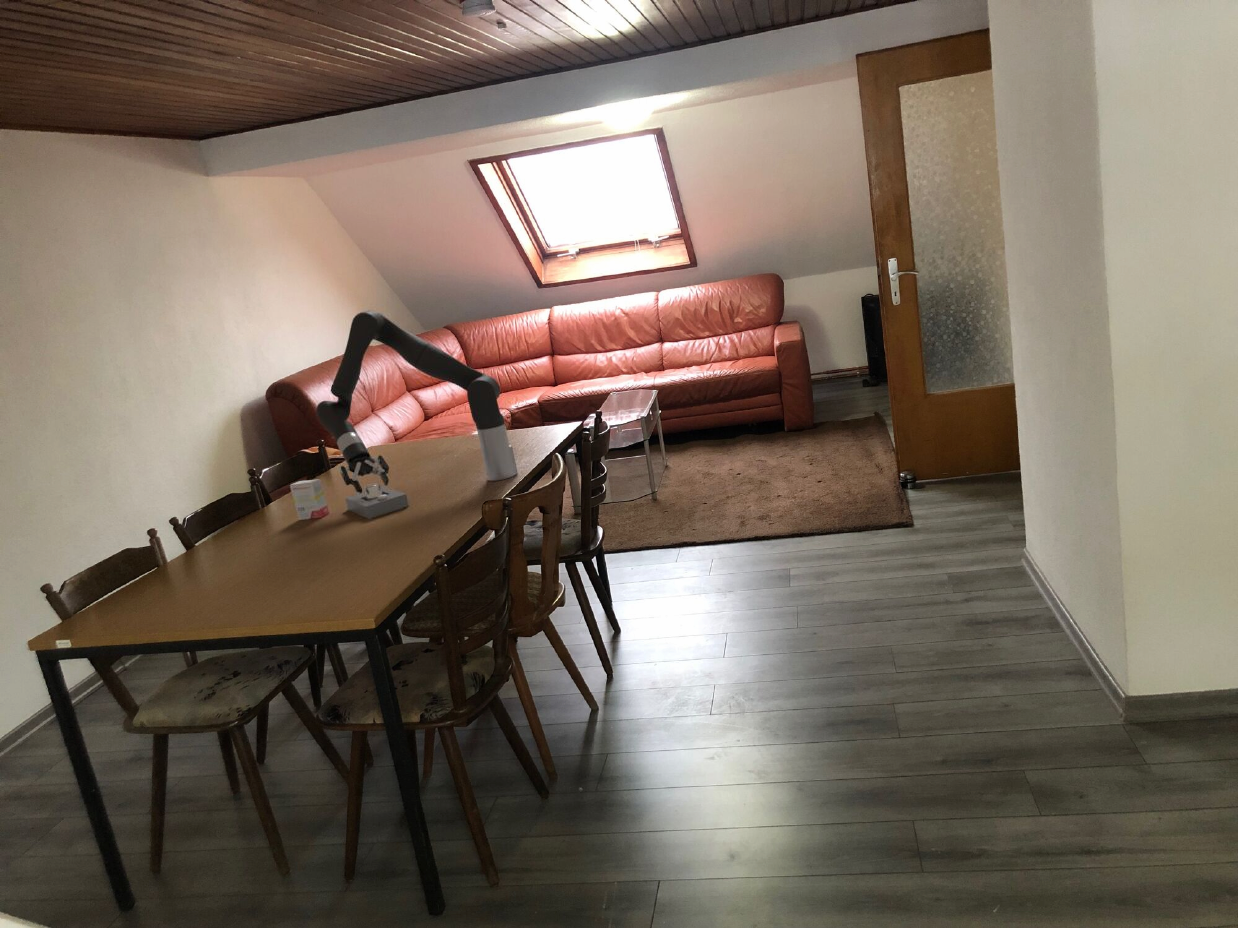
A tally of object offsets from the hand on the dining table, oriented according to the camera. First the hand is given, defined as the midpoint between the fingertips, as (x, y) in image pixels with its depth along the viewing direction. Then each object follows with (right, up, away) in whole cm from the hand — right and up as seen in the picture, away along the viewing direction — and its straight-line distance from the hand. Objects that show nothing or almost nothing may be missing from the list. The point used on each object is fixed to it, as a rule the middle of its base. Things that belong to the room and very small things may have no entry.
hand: (374, 487), depth 298 cm
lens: (0, -6, +3) cm, 7 cm away
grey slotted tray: (+1, -6, +3) cm, 7 cm away
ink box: (-21, -10, +7) cm, 24 cm away
